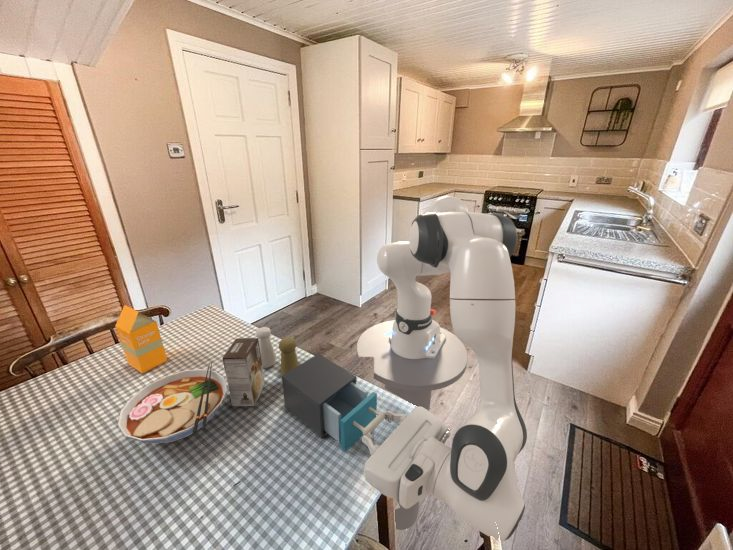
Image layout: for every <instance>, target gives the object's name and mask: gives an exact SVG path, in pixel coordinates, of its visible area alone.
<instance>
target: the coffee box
mask: <svg viewBox="0 0 733 550" xmlns="http://www.w3.org/2000/svg"><path fill="white" fill-rule="evenodd" d="M222 363H223V367H224V372H225V373H224V374H225V377H226V378H225V379H226V384H227V389H228V392H229V397H230V401H231V406H232V407H255V406H256V404H257V402H258V400H259V398H260V395H261V393H262V391H263V389H264V387H265V384H266V381H265V375H264V373H265V372H264V368H263V367H262V360H261V353H260V347H259V338H257V337H239V338H235V339H234V340H233V342H232V343H231V345H230V346H229V347H228V349H227V351H226V352H225V353H224V354H223V356H222Z"/></svg>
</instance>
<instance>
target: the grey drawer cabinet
mask: <svg viewBox="0 0 733 550" xmlns="http://www.w3.org/2000/svg"><path fill="white" fill-rule="evenodd" d="M351 382H353V383H355V384H357V375H355V374H354V373H352V372H350V371H348V370H347V369H345V367H342V366H341V365H338V364H337V363H336V362H333V361H332V360H331V359H329V358H327V357H325V356H324V355H322V354H320V353H317V354H316V355H313V356H312V357H310V358H308V359H307V360H306V361H304V362H302V363H301V364H299V366H297V367H296V368H294V369H292V370H291V371H289V372H287V373H286V374H284V375H282V374H281V384H282V393H283V402H284V407H285V409H286V410H287V411H288V412H289V413H291V414H292V415H293V416H294V417H295V418H297V419H298V420H299V421H300V422H302V424H304V425H305V426H306V427H307V428H309V429H310V430H311V431H312V432H313V433H314V434H316V436H318V437H319V438H320V439H323V438H324V437H325V436H326V435H327V434H328V433H327V432H326V431H324V430H323V413H322V405H323V404H324V403H325V402H327V401H328V400H329V399H331V398H332V397H333V396H334V395H336V394H337V393H338V392H340V391H341V390H342V389H344V388H345V387H346V386H347V385H349V384H350V383H351Z"/></svg>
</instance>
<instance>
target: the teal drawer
mask: <svg viewBox="0 0 733 550" xmlns="http://www.w3.org/2000/svg"><path fill="white" fill-rule="evenodd" d="M377 407H378V393H376V392H375V391H372V392H370V393H369V394H368V390H366V389H365V388H363V387H362V386H360V385H358V384H357V383H356V384H355V383H353V382H351V383H350V384H349V385H347V386H346V387H345V388H344V389H342V390H341V391H340V392H338V393H337V394H336V395H334V396H333V397H332V398H331V399H329V400H328V401H327V402H325V403H324V404H323V405H322V413H323V430H324V431H326V432H327V434H328V436H330V437H332V438H333V439H334V440H335V441H337V442H338V443H340V449H341V451H343V452H344V453H345V452H347V451H348V450H349V449H350V448H351V447H352V446H353V445H354V444H355V443H356V442H357V441H358V440H359V439H360V438H362V437H363V436H364V435H365V434H366V433H367V432H368V433H369V434H371V433H372V432H373V431H374V430H375V429H376V428H378V426H380V424H381V423H382V422H384V420H385V418H386V416H385V414H386V413H384V412H383V411H381V412H379V411H378V410H377Z"/></svg>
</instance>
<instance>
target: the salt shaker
mask: <svg viewBox="0 0 733 550" xmlns="http://www.w3.org/2000/svg"><path fill="white" fill-rule="evenodd" d="M271 334H272V331H271V329H270V327H268V326H263V327H260V328H258V329H256V331H255V336H256V338H258V340H259V347H260V353H261V360H262V367H263V369H266V368H271V367H272V366H273V365H275V363H276V359H277V354H276V352H275V349H274V346H273V343H272V341H271V338H270V337H271Z"/></svg>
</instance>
